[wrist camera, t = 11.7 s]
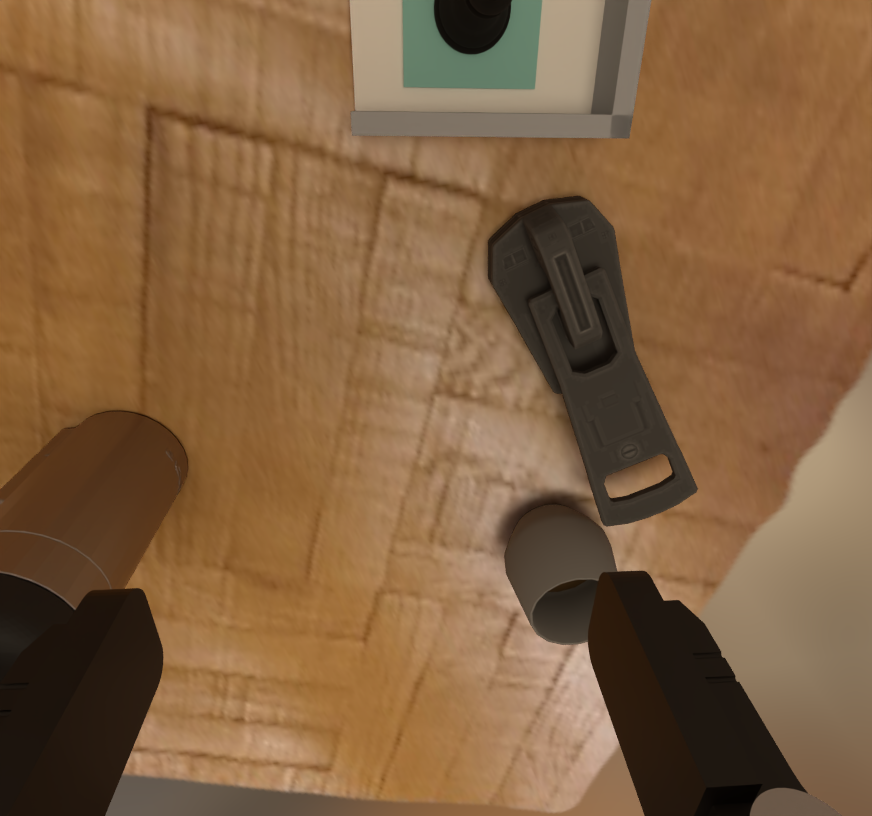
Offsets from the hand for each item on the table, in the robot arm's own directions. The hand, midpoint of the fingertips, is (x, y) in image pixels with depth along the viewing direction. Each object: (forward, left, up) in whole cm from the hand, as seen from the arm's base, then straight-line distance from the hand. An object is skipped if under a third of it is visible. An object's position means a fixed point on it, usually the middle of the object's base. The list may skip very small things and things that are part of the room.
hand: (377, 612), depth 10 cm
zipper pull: (+15, -9, -34) cm, 38 cm away
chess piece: (+5, +13, -32) cm, 35 cm away
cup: (+14, -27, -33) cm, 45 cm away
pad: (+5, +13, -32) cm, 35 cm away
